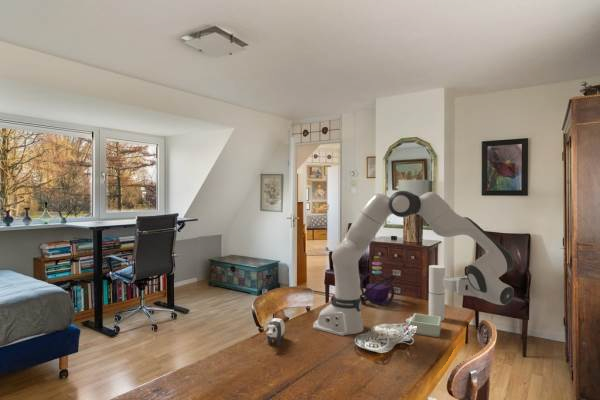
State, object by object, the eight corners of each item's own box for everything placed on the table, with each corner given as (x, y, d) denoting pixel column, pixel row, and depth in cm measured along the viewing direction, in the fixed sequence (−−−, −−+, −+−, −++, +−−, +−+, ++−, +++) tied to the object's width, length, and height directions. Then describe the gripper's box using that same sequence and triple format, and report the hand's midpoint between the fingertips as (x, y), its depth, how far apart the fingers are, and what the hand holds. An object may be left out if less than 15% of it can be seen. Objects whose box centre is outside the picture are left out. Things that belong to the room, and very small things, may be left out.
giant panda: (272, 335, 156) (272, 313, 156) (285, 336, 155) (285, 314, 155) (262, 350, 142) (262, 325, 141) (276, 351, 140) (276, 326, 140)
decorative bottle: (370, 294, 218) (370, 252, 217) (403, 301, 204) (403, 256, 204) (349, 302, 201) (349, 257, 200) (384, 311, 188) (384, 262, 187)
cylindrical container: (425, 318, 177) (426, 266, 176) (432, 314, 182) (433, 264, 181) (440, 322, 172) (440, 268, 171) (447, 318, 177) (447, 266, 176)
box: (410, 332, 159) (410, 321, 159) (414, 324, 169) (414, 313, 169) (438, 337, 154) (439, 325, 154) (440, 327, 164) (441, 316, 164)
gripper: (497, 276, 154) (473, 269, 167) (455, 280, 148) (434, 272, 162) (497, 291, 154) (474, 283, 167) (455, 295, 148) (434, 287, 162)
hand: (454, 278), depth 164 cm, fingers open, 8 cm apart
